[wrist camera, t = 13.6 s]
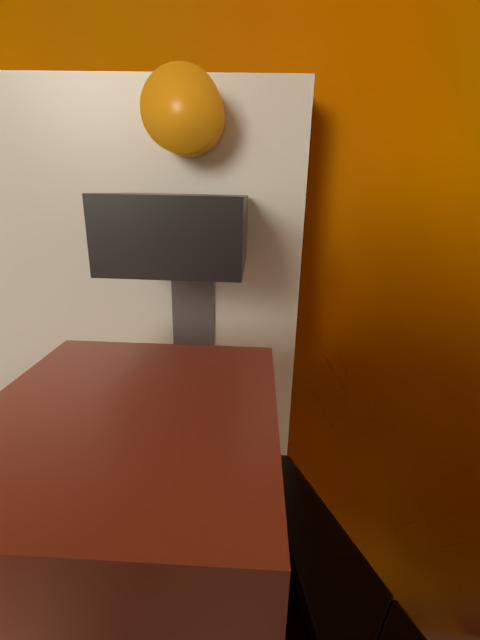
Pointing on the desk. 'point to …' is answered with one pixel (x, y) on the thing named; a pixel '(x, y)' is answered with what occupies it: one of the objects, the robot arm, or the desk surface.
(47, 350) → the panel
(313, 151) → the desk surface
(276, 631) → the block
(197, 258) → the lever tagged
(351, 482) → the desk surface
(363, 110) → the desk surface
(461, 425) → the desk surface
